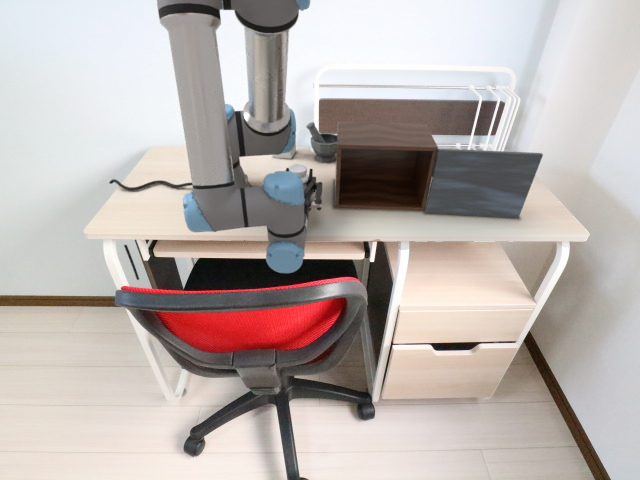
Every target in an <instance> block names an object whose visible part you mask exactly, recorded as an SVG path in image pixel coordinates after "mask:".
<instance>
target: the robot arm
mask: <svg viewBox="0 0 640 480" xmlns="http://www.w3.org/2000/svg"><path fill="white" fill-rule="evenodd" d="M156 5H157V12H158V19H159V24H160V26H161V27H163V28H164V29H165V30H167V32H168V33H167V34H168V39H169V46H170V52H171V58H172V65H173V72H174V78H175V84H176V89H177V96H178V97H177V98H178V103H179V109H180V116H181V122H182V129H183V134H184V141H185V147H186V154H187V159H188V166H189V173H190V179H191V182H185V183H181V184H175V183H170V182H169V181H166V180H152V181H150V182H147V183H144V184H141V185H138V186H135V187H133V186H132V187H131V186H126V185H124V184H123V183H121V182H120V181H119V180H117V179H116V178H113V179H111V180H109V182H108V184H110V185H112V184H114V183H115V184H117V186H119V187H120V188H122V189H123V190H126V191H138V190H142V189H144V188H147V187H149V186H152V185H156V184H163V185H167V186H169V187H171V188H175V189H176V188H177V189H178V188H179V189H180V188H184V187H192V191H190V192H187V193H185V194H184V195H183V196H182V197H183V199H182V208H183V217H184V221H185V224H186V227H187V229H188V230H189V231H190V232H192V233H209V232H212V233H217V232H222V231H229V230H236V229H244V228H246V229H247V228H257V227H266V232H267V246H266V249H265V261H266V264H267V266H268V267H269V268H270V269H271V270H273V271H274V272H277V273H280V274H291V273H295V272H297V271H298V270H299V269H300V268H301V266H302V265H303V263H304V262H303V261H304V258H305V256H306V255H305V254H306V253H305V248H306V237H307V230H308V222H309V213H310V211H311V210H312V209H316V210H317V211H321V210H322V209H323V200H322V195H323V182H322V181H318V182H317V177H316V176H313V173H314V171H313V170H314V169H313V168H309V173H308V177H309V179H308V186H307V187H306V189H305V190H304V189H303V181H302V179H301V178H300V176H298V175H297V174H295V173H293V172H289V167H286V168H285V170H278V171H277V170H276V171H274V173H273V172H272V173H268V174H267V175H266V176H265V177H264V178H263V183H262V185H261V186H259V185H258V186H250V183H249V177H248V175H247V174H246V173H245V172H244V169H243V167H242V165H241V159H240V158H245V157H258V156H274V155H279V154H283V153H288V152H290V151H291V150H292V149H293V147H294V144H295V139H297V138H296V137H297V135H296V132H297V120H296V119H297V118H296V114H295V112H294V110H293V109H292V108H290V107H289V105H288V104H287V102H286V94H287V93H286V91H287V75H288V60H289V41H290V30H291V29H293V28H294V27H295V26H296V24H297V23H298V20H299V17H300V16H299V15H300V14H299V13H300V12H302V11H303V12H304V11H305V10H308V9H309V8H310V5H311V0H156ZM221 10H223V11H234V15H235V18H236V20H237V21H238V23H239V24H241V26H243V32H244V47H245V48H244V49H245V63H246V78H247V95H248V101H246V103H245V105H244V106H243V110H235V108H234V106H233V105H231V104H229V103H226V101H225V94H224V93H225V92H224V86H223V76H222V70H221V69H222V68H221V62H220V61H221V60H220V54H219V44H218V37H217V36H218V35H217V31H218V29H219V28H220V27H221V25H222V19H221ZM314 193H315V196H314V198H313V200H312V202H311V201H310V199H311V197H312V196H313V194H314ZM308 200H309V201H308ZM123 246H124V249H125V251H126V252H125V253H126V254H127V257H128V259H129V262H130V265H131V267H132V270H133V272H134V276H135V279H136V280H137V281H140V277H139V274H138V271H137V269H136V268H137V267H136V265H135V263H134V260H133V257H132V255H131V252H130V250H129V246H128V244H123Z"/></svg>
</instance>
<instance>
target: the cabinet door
mask: <svg viewBox="0 0 640 480" xmlns="http://www.w3.org/2000/svg"><path fill="white" fill-rule="evenodd" d="M543 156H544V154H543V153H542V152H527V151H525V152H524V151H505V150H504V151H503V150H502V151H501V150H481V149H458V148H457V149H454V148H438V153H437V157H436V162H435V167H434V172H433V176H432V179H431V184H430V188H429V193H428V198H427V203H426V207H425V211H424V212H425V214H431V215H432V214H433V215H451V216H452V215H454V216H471V217H473V216H474V217H492V218H511V219H519V218H520V215H521V213H522V211H523V208H524V206H525V202H526V201H527V198H528V194H529V192H530V190H531V187H532V184H533V182H534V179H535V177H536V174H537V172H538V169H539V166H540V164H541V161H542V159H543Z"/></svg>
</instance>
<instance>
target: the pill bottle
mask: <svg viewBox="0 0 640 480" xmlns="http://www.w3.org/2000/svg"><path fill="white" fill-rule="evenodd" d="M288 168H289V172H293V173H295V174H297V175H298V176H300V178H301V179H302V181H303V189H304V190H305V189H306V187H307V186H308V179H309V174H307V173H308V168H307V166H306V165H305V164H300V163H297V164H296V163H295V164H292V165H291V166H288ZM308 201H310V199H309V200H308Z"/></svg>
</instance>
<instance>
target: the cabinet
mask: <svg viewBox="0 0 640 480" xmlns="http://www.w3.org/2000/svg"><path fill="white" fill-rule="evenodd" d="M336 135H337V149H336V154H335V174H334V176H335V177H334V209H354V210H386V211H414V212H415V211H417V212H421V211H422V212H425V210H426V205H427V200H428V195H429V191H430V186H431V181H432V174H433V169H434V164H435V160H436V155H437V150H438V149H439V146H438V144H437V142H436V140H435V139H434V136H433V135H432V133H431V130H430V129H429V127H428V125H427V123H418V122H417V123H413V122H379V121H376V122H375V121H346V120H345V121H344V120H343V121H340V120H337V129H336Z"/></svg>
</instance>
